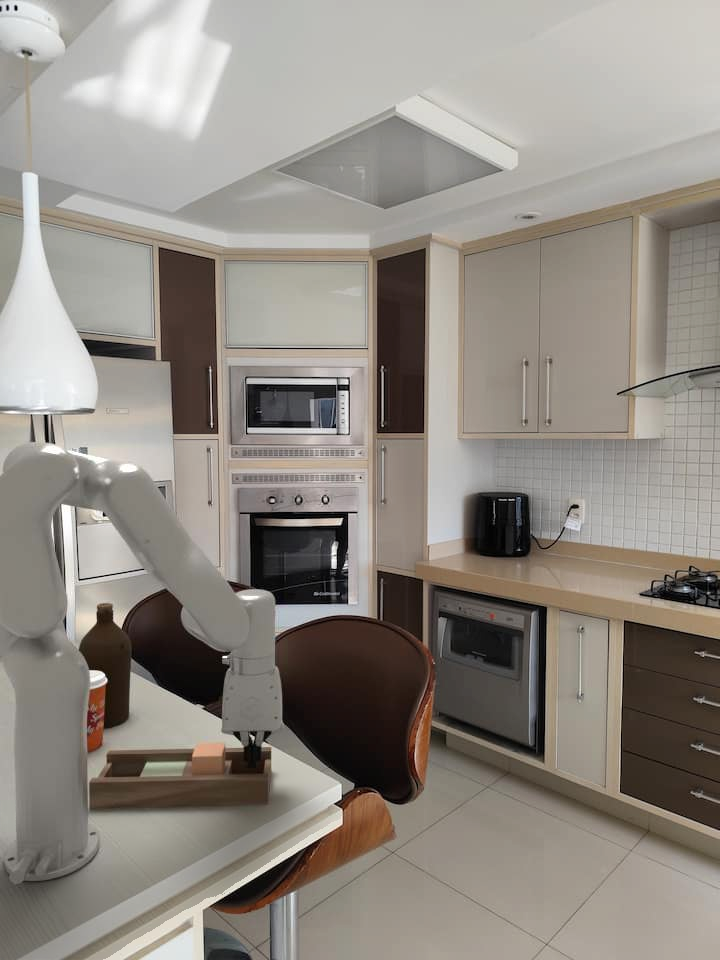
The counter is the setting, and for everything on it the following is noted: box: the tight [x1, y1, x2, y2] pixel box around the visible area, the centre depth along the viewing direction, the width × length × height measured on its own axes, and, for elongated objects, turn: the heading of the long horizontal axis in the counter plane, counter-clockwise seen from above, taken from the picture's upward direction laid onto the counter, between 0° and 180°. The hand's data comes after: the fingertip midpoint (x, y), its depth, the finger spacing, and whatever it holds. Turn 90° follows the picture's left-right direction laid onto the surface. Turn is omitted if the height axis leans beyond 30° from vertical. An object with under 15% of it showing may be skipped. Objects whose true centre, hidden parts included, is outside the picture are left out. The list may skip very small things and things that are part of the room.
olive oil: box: [78, 602, 133, 729], centre depth 141 cm, size 11×11×25 cm
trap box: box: [88, 746, 272, 810], centre depth 115 cm, size 11×29×4 cm, turn 95°
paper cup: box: [87, 670, 107, 753], centre depth 130 cm, size 8×8×14 cm
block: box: [192, 741, 226, 775], centre depth 115 cm, size 5×5×4 cm
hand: (252, 764), depth 116 cm, fingers closed
